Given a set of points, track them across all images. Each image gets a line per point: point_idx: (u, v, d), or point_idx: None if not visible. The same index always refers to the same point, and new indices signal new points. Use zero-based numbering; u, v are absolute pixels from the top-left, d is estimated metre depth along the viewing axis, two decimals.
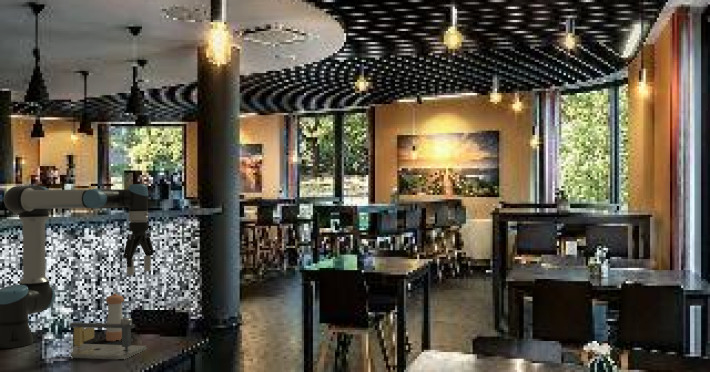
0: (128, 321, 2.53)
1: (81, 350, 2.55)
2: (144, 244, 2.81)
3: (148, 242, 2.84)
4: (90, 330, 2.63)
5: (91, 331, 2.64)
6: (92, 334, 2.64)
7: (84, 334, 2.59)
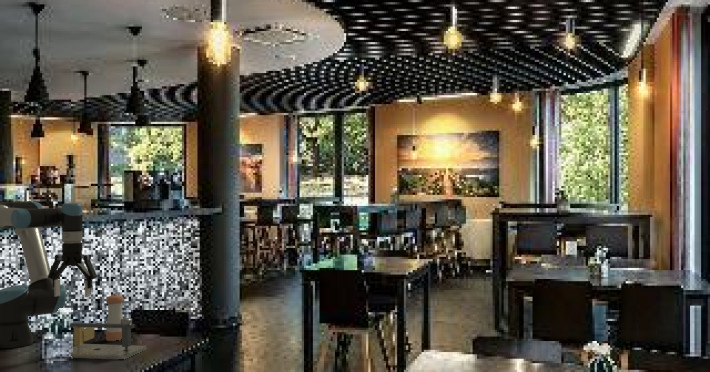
0: (128, 321, 2.53)
1: (81, 350, 2.55)
2: None
3: None
4: (90, 330, 2.63)
5: (91, 331, 2.64)
6: (92, 334, 2.64)
7: (84, 334, 2.59)
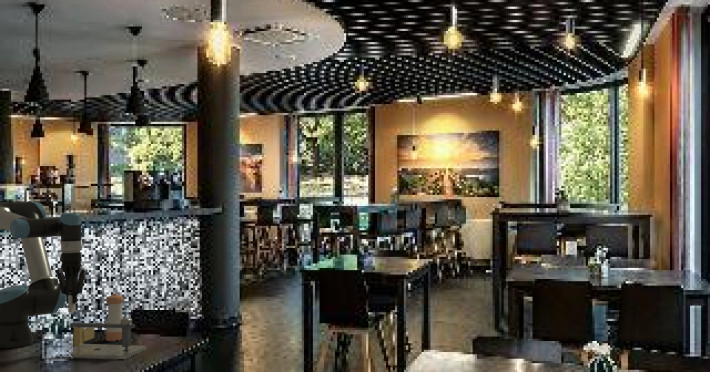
0: (128, 321, 2.53)
1: (81, 350, 2.55)
2: None
3: None
4: (90, 330, 2.63)
5: (91, 331, 2.64)
6: (92, 334, 2.64)
7: (84, 334, 2.59)
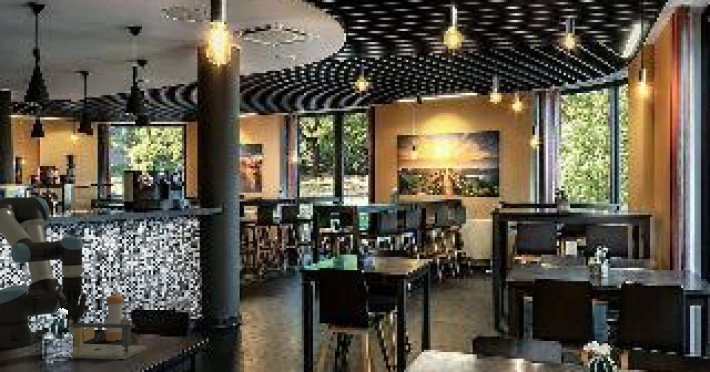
0: (128, 321, 2.53)
1: (81, 350, 2.55)
2: None
3: None
4: (90, 330, 2.63)
5: (91, 331, 2.64)
6: (92, 334, 2.64)
7: (84, 334, 2.59)
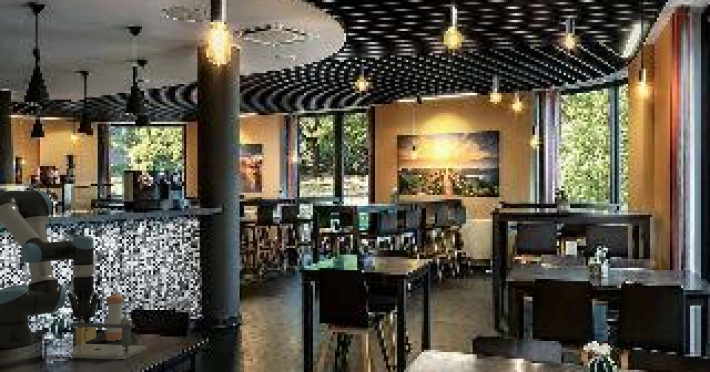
0: (128, 321, 2.53)
1: (81, 350, 2.55)
2: None
3: None
4: (92, 330, 2.63)
5: (93, 331, 2.63)
6: (94, 334, 2.64)
7: (85, 334, 2.59)
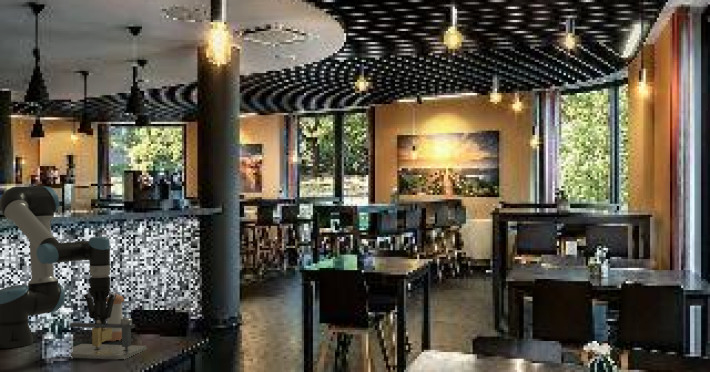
0: (128, 321, 2.53)
1: (81, 350, 2.55)
2: None
3: None
4: (108, 331, 2.61)
5: (109, 332, 2.62)
6: (110, 335, 2.63)
7: (102, 334, 2.57)
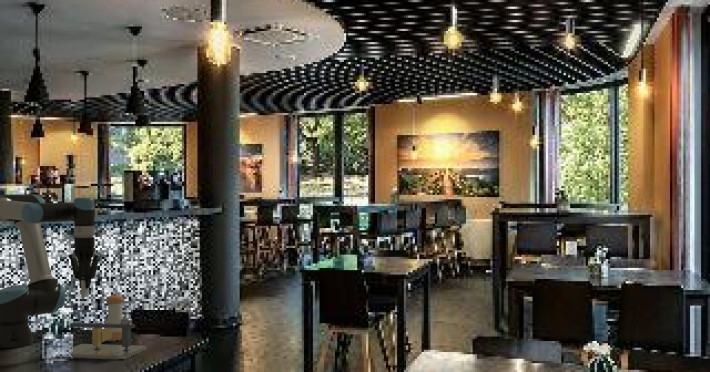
0: (128, 321, 2.53)
1: (81, 350, 2.55)
2: None
3: None
4: (108, 331, 2.61)
5: (109, 332, 2.62)
6: (110, 335, 2.63)
7: (102, 334, 2.57)
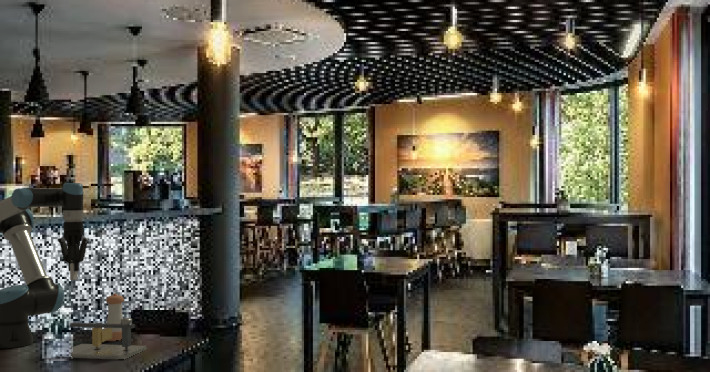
0: (128, 321, 2.53)
1: (81, 350, 2.55)
2: None
3: None
4: (108, 331, 2.61)
5: (109, 332, 2.62)
6: (110, 335, 2.63)
7: (102, 334, 2.57)
